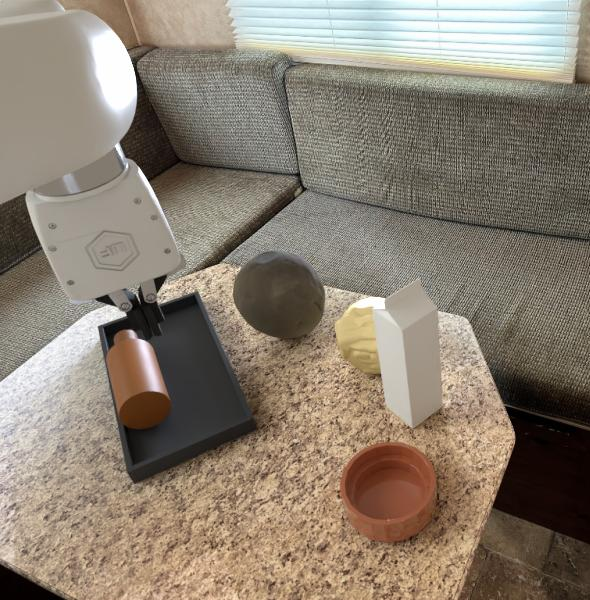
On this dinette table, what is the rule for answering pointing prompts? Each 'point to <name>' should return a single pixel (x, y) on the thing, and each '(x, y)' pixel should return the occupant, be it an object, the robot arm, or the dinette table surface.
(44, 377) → the dinette table surface
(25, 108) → the robot arm
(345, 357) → the sculpture
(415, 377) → the milk
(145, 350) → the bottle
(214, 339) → the tray
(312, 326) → the dark grey rock
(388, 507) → the bowl
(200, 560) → the dinette table surface
